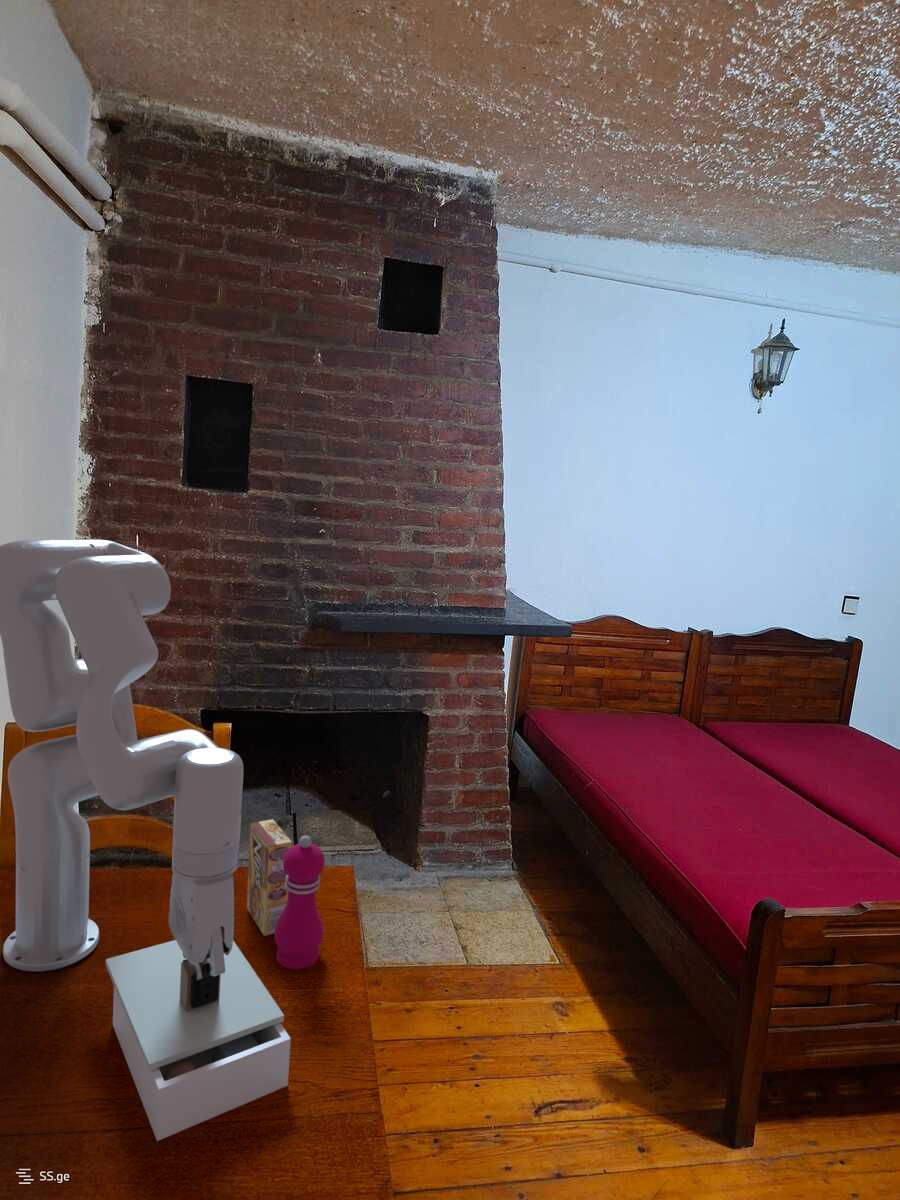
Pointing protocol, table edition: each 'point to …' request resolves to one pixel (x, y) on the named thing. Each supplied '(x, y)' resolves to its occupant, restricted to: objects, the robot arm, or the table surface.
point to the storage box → (204, 1078)
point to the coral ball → (179, 1069)
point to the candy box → (267, 874)
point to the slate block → (233, 1047)
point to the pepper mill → (300, 907)
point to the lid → (187, 1002)
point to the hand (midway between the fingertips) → (199, 993)
